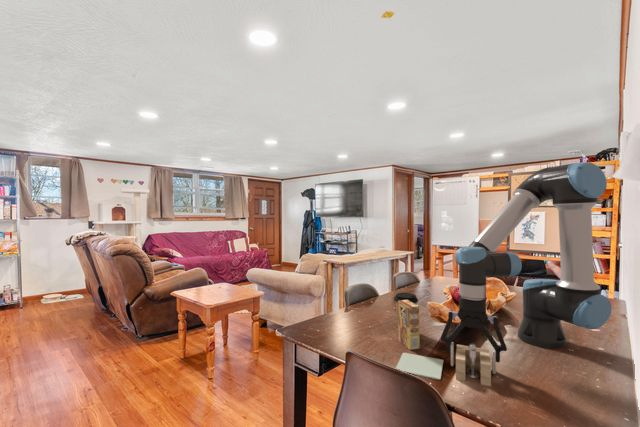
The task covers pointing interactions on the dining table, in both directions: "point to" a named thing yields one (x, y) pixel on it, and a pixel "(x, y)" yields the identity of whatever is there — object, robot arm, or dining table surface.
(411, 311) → the candy box
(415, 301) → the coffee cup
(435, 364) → the felt mat
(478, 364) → the c link
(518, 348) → the dining table surface
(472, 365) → the stand
